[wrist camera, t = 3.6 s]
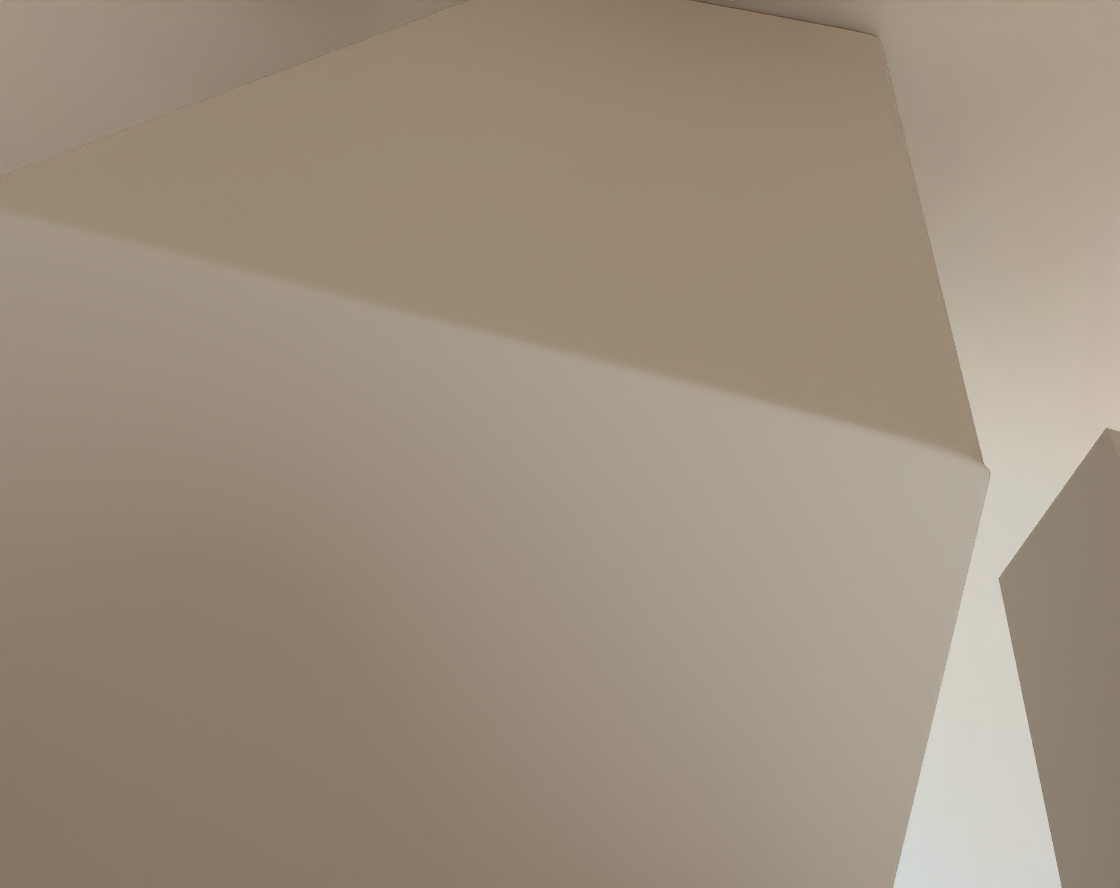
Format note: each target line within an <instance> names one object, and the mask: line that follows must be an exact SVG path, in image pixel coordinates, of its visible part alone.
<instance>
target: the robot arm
mask: <svg viewBox="0 0 1120 888" xmlns="http://www.w3.org/2000/svg"><path fill="white" fill-rule="evenodd" d="M999 582H1000V587H1001V592H1002V597H1003V602H1004V607H1005V612H1006V616H1007V621H1008V626H1009V631H1010V636H1011V641H1012V646H1013V651H1014V656H1015V660H1016V665H1017V670H1018V675H1019V680H1020V685H1021V690H1022V695H1023V700H1024V704H1025V709H1026V714H1027V719H1028V724H1029V729H1030V734H1031V739H1032V744H1033V748H1034V753H1035V758H1036V763H1037V768H1038V773H1039V778H1040V783H1041V788H1042V792H1043V797H1044V802H1045V807H1046V812H1047V817H1048V822H1049V827H1050V832H1051V836H1052V841H1053V846H1054V851H1055V856H1056V861H1057V866H1058V871H1059V876H1060V880H1061V885H1062V888H1120V432H1119V431H1115V430H1112V429H1109V428H1106V429H1105V430H1104V432H1103V433H1102V434H1101V436H1100V437H1099V439H1098V440H1097V441H1096V443H1095V444H1094V446H1093V447H1092V448H1091V450H1090V451H1089V453H1088V454H1087V455H1086V457H1085V458H1084V460H1083V461H1082V462H1081V464H1080V465H1079V467H1078V468H1077V469H1076V471H1075V472H1074V474H1073V475H1072V476H1071V478H1070V479H1069V481H1068V482H1067V483H1066V485H1065V486H1064V488H1063V489H1062V490H1061V492H1060V493H1059V495H1058V496H1057V497H1056V499H1055V500H1054V502H1053V503H1052V504H1051V506H1050V507H1049V509H1048V510H1047V511H1046V513H1045V514H1044V516H1043V517H1042V518H1041V520H1040V521H1039V523H1038V524H1037V525H1036V527H1035V528H1034V530H1033V531H1032V532H1031V534H1030V535H1029V537H1028V538H1027V539H1026V541H1025V542H1024V544H1023V545H1022V546H1021V548H1020V549H1019V551H1018V552H1017V553H1016V555H1015V556H1014V558H1013V559H1012V560H1011V562H1010V563H1009V565H1008V566H1007V567H1006V569H1005V570H1004V572H1003V573H1002V574H1001V576H1000V577H999Z"/></svg>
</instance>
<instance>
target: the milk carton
mask: <svg viewBox="0 0 1120 888" xmlns="http://www.w3.org/2000/svg"><path fill="white" fill-rule="evenodd" d="M989 479H990V471H989V469H988V468H987V467H986V466H985V465H984V462H983V458H982V454H981V450H980V446H979V442H978V438H977V434H976V430H975V426H974V421H973V417H972V413H971V409H970V405H969V401H968V397H967V393H966V389H965V384H964V380H963V376H962V372H961V368H960V364H959V360H958V356H957V351H956V347H955V343H954V339H953V335H952V331H951V327H950V323H949V319H948V314H947V310H946V306H945V302H944V298H943V294H942V290H941V286H940V282H939V277H938V273H937V269H936V265H935V261H934V257H933V253H932V249H931V244H930V240H929V236H928V232H927V228H926V224H925V220H924V216H923V212H922V207H921V203H920V199H919V195H918V191H917V187H916V183H915V179H914V174H913V170H912V166H911V162H910V158H909V154H908V150H907V146H906V142H905V137H904V133H903V129H902V125H901V121H900V117H899V113H898V109H897V105H896V100H895V96H894V92H893V88H892V84H891V80H890V76H889V72H888V67H887V63H886V59H885V55H884V51H883V47H882V43H881V42H880V40H879V39H878V38H877V37H874V36H872V35H869V34H865V33H861V32H856V31H851V30H846V29H841V28H836V27H831V26H826V25H820V24H815V23H810V22H804V21H799V20H794V19H788V18H783V17H777V16H772V15H767V14H761V13H756V12H751V11H745V10H740V9H735V8H729V7H724V6H719V5H713V4H708V3H703V2H697V1H692V0H468V1H466V2H463V3H460V4H458V5H455V6H452V7H450V8H447V9H444V10H442V11H439V12H436V13H434V14H431V15H429V16H426V17H423V18H421V19H418V20H415V21H413V22H410V23H407V24H405V25H402V26H399V27H397V28H394V29H391V30H389V31H386V32H383V33H381V34H378V35H375V36H373V37H370V38H367V39H365V40H362V41H359V42H357V43H354V44H351V45H349V46H346V47H343V48H341V49H338V50H335V51H333V52H330V53H328V54H325V55H322V56H320V57H317V58H314V59H312V60H309V61H306V62H304V63H301V64H298V65H296V66H293V67H290V68H288V69H285V70H282V71H280V72H277V73H274V74H272V75H269V76H266V77H264V78H261V79H258V80H256V81H253V82H250V83H248V84H245V85H242V86H240V87H237V88H234V89H232V90H229V91H226V92H224V93H221V94H219V95H216V96H213V97H211V98H208V99H205V100H203V101H200V102H197V103H195V104H192V105H189V106H187V107H184V108H181V109H179V110H176V111H173V112H171V113H168V114H165V115H163V116H160V117H157V118H155V119H152V120H149V121H147V122H144V123H141V124H139V125H136V126H133V127H131V128H128V129H125V130H123V131H120V132H118V133H115V134H112V135H110V136H107V137H104V138H102V139H99V140H96V141H94V142H91V143H88V144H86V145H83V146H80V147H78V148H75V149H72V150H70V151H67V152H64V153H62V154H59V155H56V156H54V157H51V158H48V159H46V160H43V161H40V162H38V163H35V164H32V165H30V166H27V167H24V168H22V169H19V170H17V171H14V172H11V173H9V174H6V175H3V176H1V177H0V888H893V885H894V880H895V876H896V872H897V868H898V864H899V859H900V855H901V851H902V847H903V842H904V838H905V834H906V830H907V826H908V821H909V817H910V813H911V809H912V805H913V800H914V796H915V792H916V788H917V783H918V779H919V775H920V771H921V767H922V762H923V758H924V754H925V750H926V746H927V741H928V737H929V733H930V729H931V724H932V720H933V716H934V712H935V708H936V703H937V699H938V695H939V691H940V687H941V682H942V678H943V674H944V670H945V665H946V661H947V657H948V653H949V649H950V644H951V640H952V636H953V632H954V628H955V623H956V619H957V615H958V611H959V606H960V602H961V598H962V594H963V590H964V585H965V581H966V577H967V573H968V569H969V564H970V560H971V556H972V552H973V547H974V543H975V539H976V535H977V531H978V526H979V522H980V518H981V514H982V509H983V505H984V501H985V497H986V492H987V488H988V483H989Z"/></svg>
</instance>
